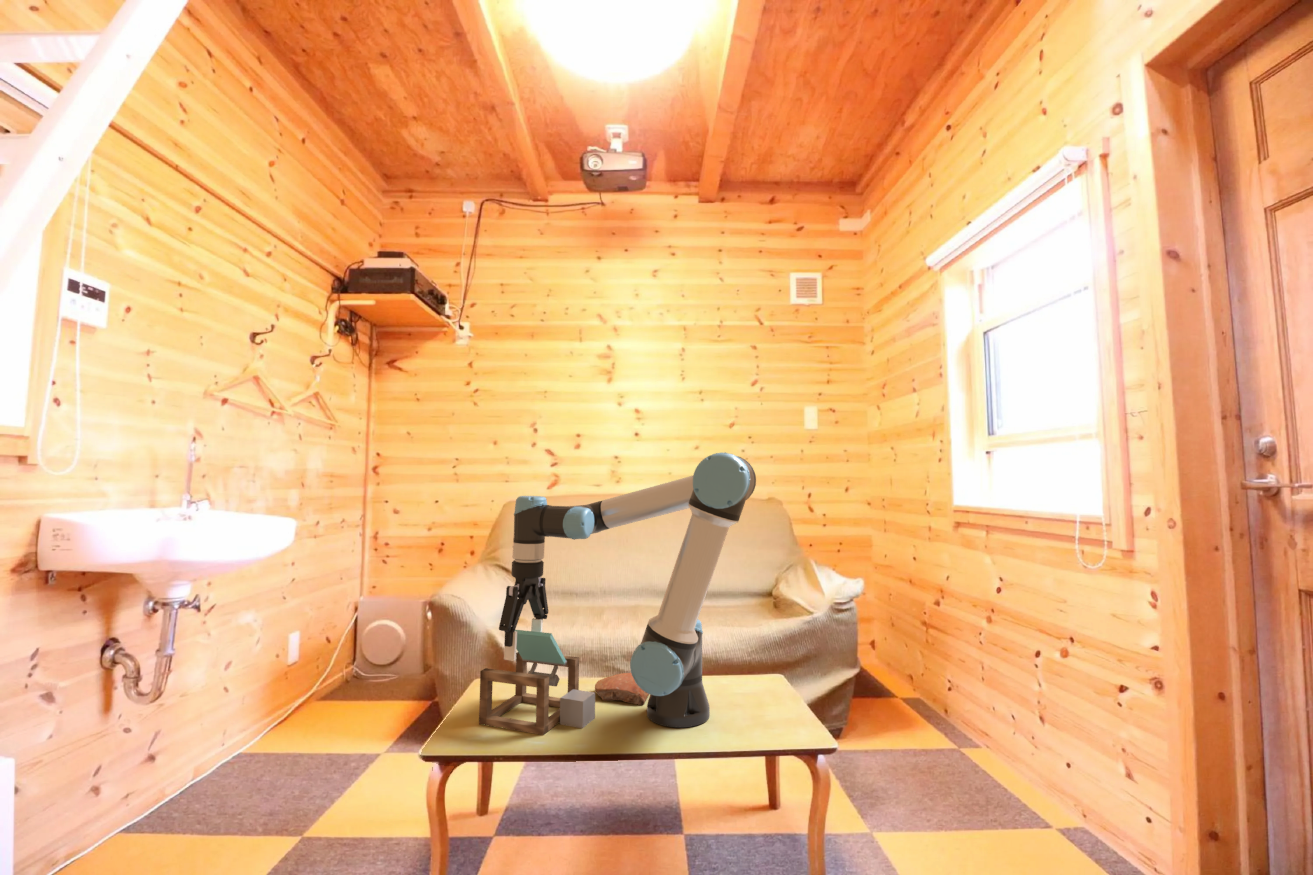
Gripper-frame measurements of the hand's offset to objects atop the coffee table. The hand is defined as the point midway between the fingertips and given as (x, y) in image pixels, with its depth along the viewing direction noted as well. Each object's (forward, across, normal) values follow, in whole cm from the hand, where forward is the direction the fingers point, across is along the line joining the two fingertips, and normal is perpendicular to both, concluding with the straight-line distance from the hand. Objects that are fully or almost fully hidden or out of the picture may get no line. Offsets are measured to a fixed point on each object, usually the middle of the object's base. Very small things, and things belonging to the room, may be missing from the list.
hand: (523, 652), depth 136 cm
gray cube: (+15, -3, +14) cm, 20 cm away
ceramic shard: (+15, -23, +17) cm, 33 cm away
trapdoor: (+4, -2, +1) cm, 5 cm away
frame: (+15, -2, +2) cm, 15 cm away
